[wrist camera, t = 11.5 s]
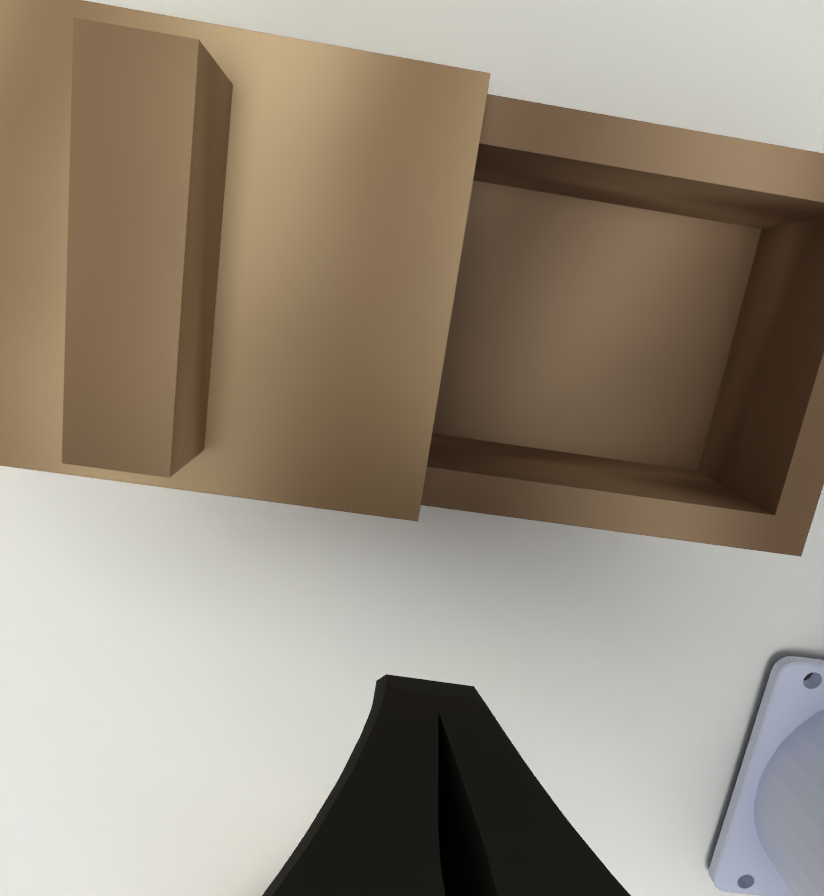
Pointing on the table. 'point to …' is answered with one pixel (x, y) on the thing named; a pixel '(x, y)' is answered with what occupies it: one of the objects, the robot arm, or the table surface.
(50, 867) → the table surface
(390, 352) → the lid
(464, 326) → the wooden box
